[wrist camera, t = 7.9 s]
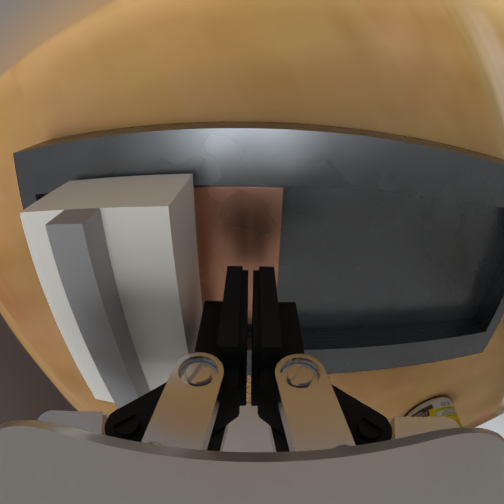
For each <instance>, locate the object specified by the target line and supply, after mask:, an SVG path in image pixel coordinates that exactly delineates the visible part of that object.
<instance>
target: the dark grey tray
mask: <svg viewBox="0 0 504 504" xmlns="http://www.w3.org/2000/svg"><path fill="white" fill-rule="evenodd" d="M13 155H14V162H15V169H16V175H17V180H18V186H19V191H20V196H21V201H22V205H23V210H24V209H26V208H27V207H29V206H30V205H32V204H33V203H35V202H36V201H38V200H39V199H41V198H42V197H44V196H45V195H47V194H49V193H50V192H52V191H53V190H55V189H57V188H58V187H60V186H62V185H63V184H65V183H67V182H68V181H74V180H84V179H96V178H108V177H123V176H140V175H161V174H193V188H194V207H195V223H196V238H197V251H198V264H199V276H200V287H201V298H202V308H203V307H204V303H205V301H223V295H224V288H225V280H226V273H227V266H243V270H248V337H247V375H251V368H252V299H253V270H259V266H272V267H274V269H275V278H276V287H277V297H278V302H295V303H296V307H297V312H298V318H299V324H300V329H301V335H302V341H303V347H304V353H305V355H309V356H312V357H314V358H316V359H317V360H318V361H320V362H321V363H322V365H323V366H324V368H325V370H326V373H327V374H333V373H347V372H359V371H370V370H379V369H388V368H396V367H404V366H411V365H418V364H424V363H430V362H436V361H442V360H447V359H452V358H457V357H462V356H467V355H472V354H476V353H481V352H483V350H484V349H485V347H486V345H487V344H488V342H489V340H490V338H491V337H492V335H493V333H494V331H495V329H496V327H497V326H498V324H499V322H500V320H501V318H502V316H503V314H504V160H502V159H499V158H496V157H492V156H489V155H485V154H482V153H478V152H474V151H470V150H467V149H463V148H459V147H454V146H450V145H446V144H441V143H437V142H432V141H427V140H422V139H417V138H412V137H407V136H401V135H395V134H389V133H382V132H375V131H368V130H361V129H353V128H344V127H334V126H323V125H311V124H296V123H277V122H195V123H176V124H161V125H149V126H138V127H129V128H120V129H112V130H105V131H98V132H91V133H85V134H79V135H73V136H67V137H62V138H57V139H52V140H48V141H45V142H42V143H39V144H37V145H34V146H31V147H28V148H26V149H23V150H20V151H18V152H15V153H13Z"/></svg>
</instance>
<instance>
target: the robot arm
mask: <svg viewBox="0 0 504 504" xmlns="http://www.w3.org/2000/svg"><path fill="white" fill-rule="evenodd" d="M247 337H248V270H243V266H227V273H226V280H225V288H224V295H223V301H205V303H204V307H203V312H202V317H201V322H200V327H199V332H198V337H197V342H196V347H195V352H194V353H190V354H188V355H185V356H183V357H182V358H180V359H179V360H178V361H177V362H176V364H175V365H174V367H173V370H172V372H171V374H170V376H169V379H168V381H167V382H166V383H164V384H162V385H160V386H159V387H157V388H155V389H153V390H152V391H150V392H148V393H146V394H144V395H143V396H141V397H139V398H137V399H135V400H134V401H132V402H130V403H128V404H126V405H124V406H123V407H121V408H119V409H117V410H115V411H114V412H113V413H111V414H110V415H105V414H104V413H103V412H80V411H54V410H53V411H47V412H45V413H43V414H42V415H41V416H40V417H39V418H38V420H37V421H14V422H8V423H5V424H2V425H0V504H504V438H503V437H502V436H500V435H499V434H498V433H496V432H494V431H491V430H488V429H483V428H474V427H459V425H458V424H457V423H456V421H455V420H453V419H451V418H449V417H401V416H394V418H393V419H387V418H386V417H384V416H383V415H382V414H380V413H378V412H377V411H375V410H373V409H372V408H370V407H368V406H366V405H365V404H363V403H361V402H360V401H358V400H356V399H355V398H353V397H351V396H350V395H348V394H346V393H345V392H343V391H341V390H340V389H338V388H337V387H335V386H333V385H332V384H331V382H330V380H329V377H328V375H327V373H326V370H325V368H324V366H323V365H322V363H321V362H320V361H318V360H317V359H316V358H314V357H312V356H309V355H305V353H304V347H303V341H302V335H301V329H300V324H299V318H298V312H297V307H296V303H295V302H278V297H277V287H276V278H275V269H274V267H272V266H259V270H253V299H252V368H251V406H257V409H258V415H259V417H260V418H261V419H262V420H263V421H265V422H266V423H267V424H268V429H269V434H270V438H271V443H272V447H273V452H225V451H223V447H224V443H225V439H226V435H227V431H228V424H229V423H230V422H232V421H233V420H234V419H236V418H237V417H238V416H239V414H240V406H246V384H247Z"/></svg>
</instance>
